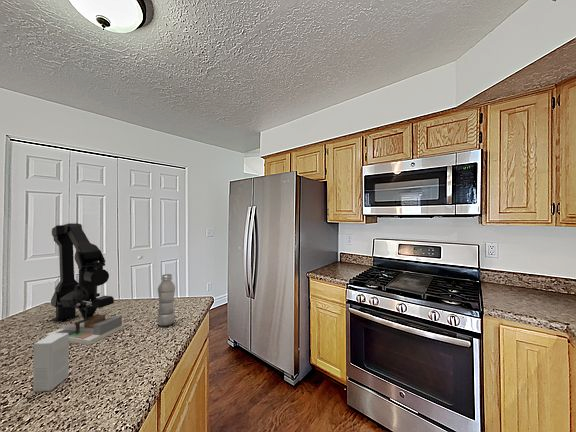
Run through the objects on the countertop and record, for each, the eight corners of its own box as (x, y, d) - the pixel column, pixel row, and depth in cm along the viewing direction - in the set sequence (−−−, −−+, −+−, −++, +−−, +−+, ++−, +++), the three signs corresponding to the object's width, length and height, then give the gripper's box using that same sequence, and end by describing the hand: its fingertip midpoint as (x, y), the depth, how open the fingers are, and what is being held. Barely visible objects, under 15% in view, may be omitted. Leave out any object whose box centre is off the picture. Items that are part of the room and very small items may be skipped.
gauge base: (45, 338, 92) (46, 324, 92) (84, 323, 106) (84, 310, 106) (89, 344, 88) (89, 330, 88) (123, 328, 102) (123, 315, 102)
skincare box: (51, 377, 70) (52, 332, 70) (68, 376, 71) (69, 332, 71) (31, 392, 64) (32, 343, 64) (50, 391, 64) (51, 342, 65)
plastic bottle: (168, 328, 102) (169, 277, 102) (153, 327, 103) (154, 276, 103) (178, 322, 108) (179, 273, 108) (164, 320, 110) (164, 273, 110)
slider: (70, 335, 91) (70, 322, 91) (96, 324, 101) (97, 312, 101) (79, 337, 90) (79, 323, 90) (105, 325, 100) (105, 313, 100)
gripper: (45, 284, 93) (44, 328, 93) (87, 288, 89) (86, 334, 89) (76, 278, 104) (75, 317, 104) (115, 281, 100) (114, 322, 100)
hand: (87, 322), depth 99 cm, fingers closed
